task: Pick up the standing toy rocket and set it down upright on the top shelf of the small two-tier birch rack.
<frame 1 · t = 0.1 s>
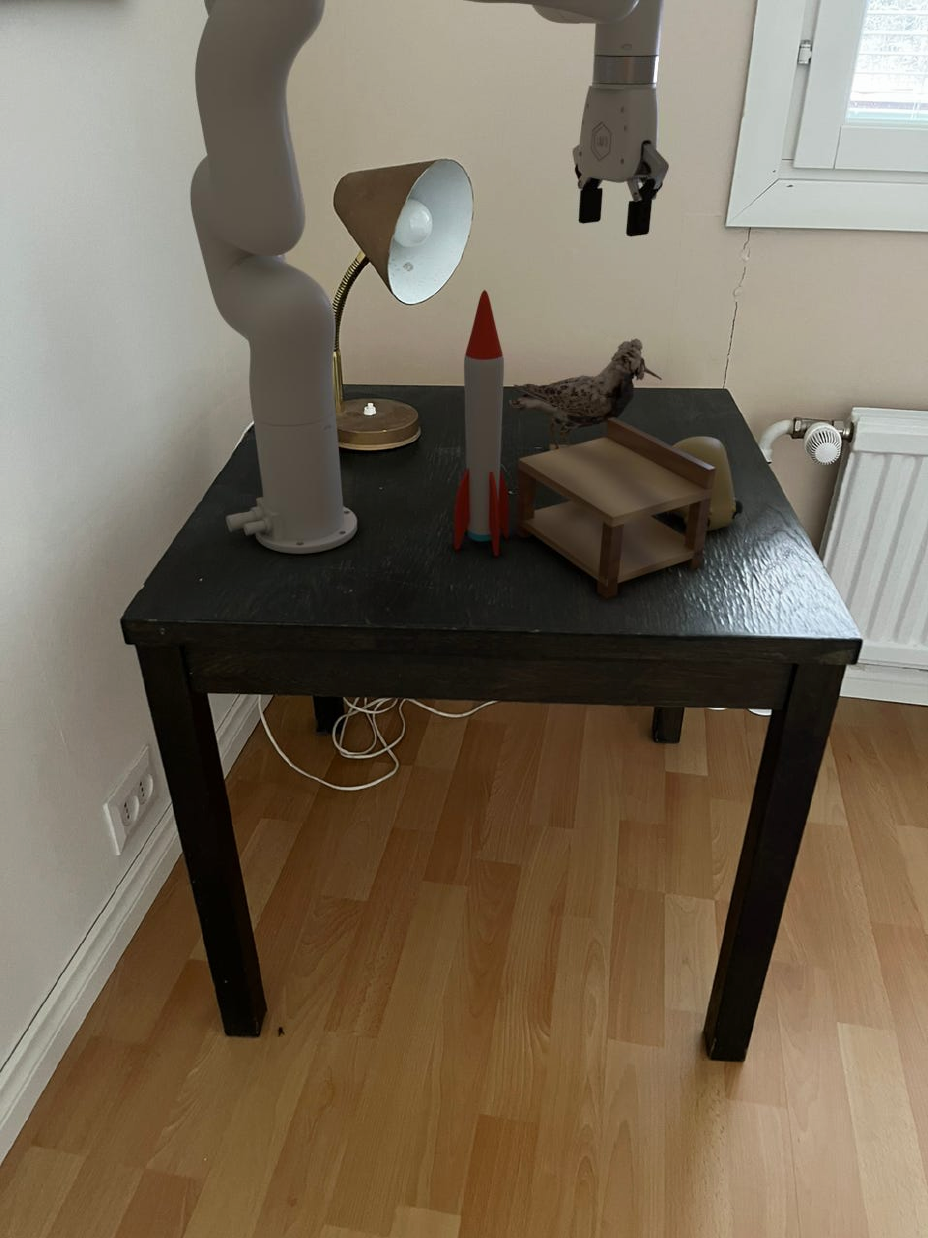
hand: (612, 228, 121), 31 cm above the table, tool pointing down, fingers open, 9 cm apart
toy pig: (694, 518, 122), on the table
toy rocket: (481, 544, 116), on the table
rack: (605, 549, 114), on the table
stuffed bird: (578, 462, 137), on the table
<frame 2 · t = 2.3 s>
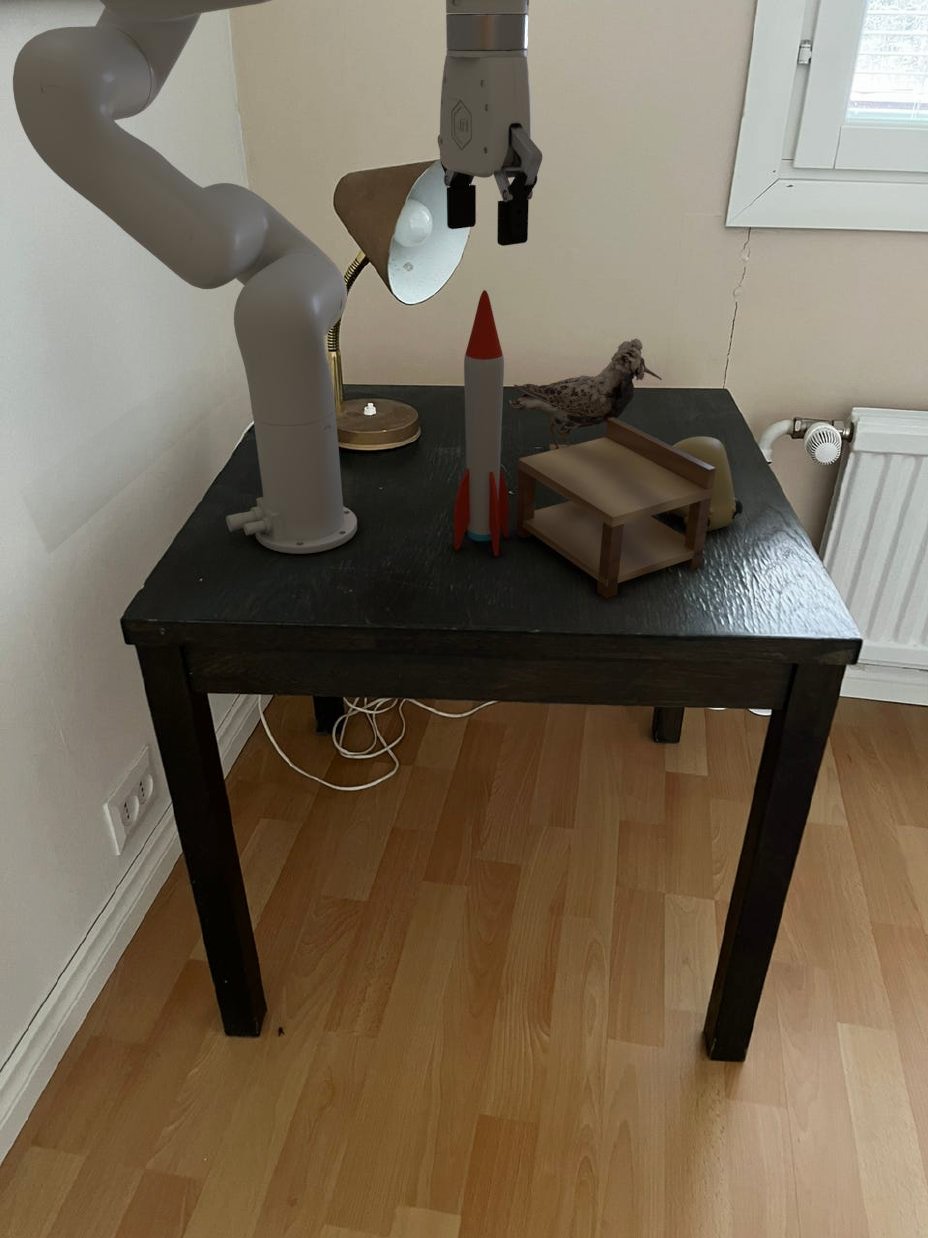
hand: (486, 235, 97), 35 cm above the table, tool pointing down, fingers open, 9 cm apart
nothing on the table moved.
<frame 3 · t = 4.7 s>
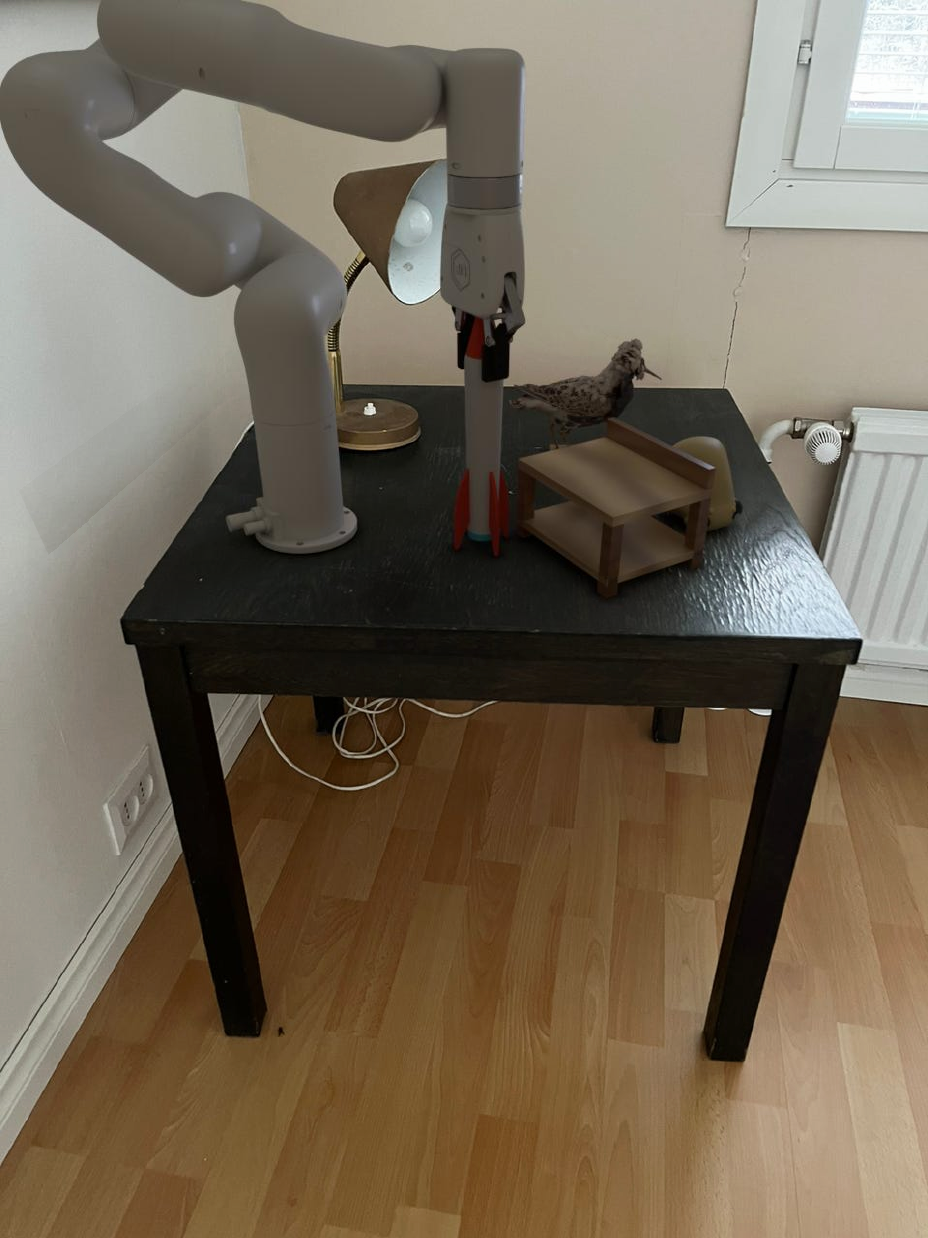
hand: (482, 371, 104), 21 cm above the table, tool pointing down, fingers closed on toy rocket, 4 cm apart
toy rocket: (481, 544, 116), on the table, touching gripper
everything else where it was.
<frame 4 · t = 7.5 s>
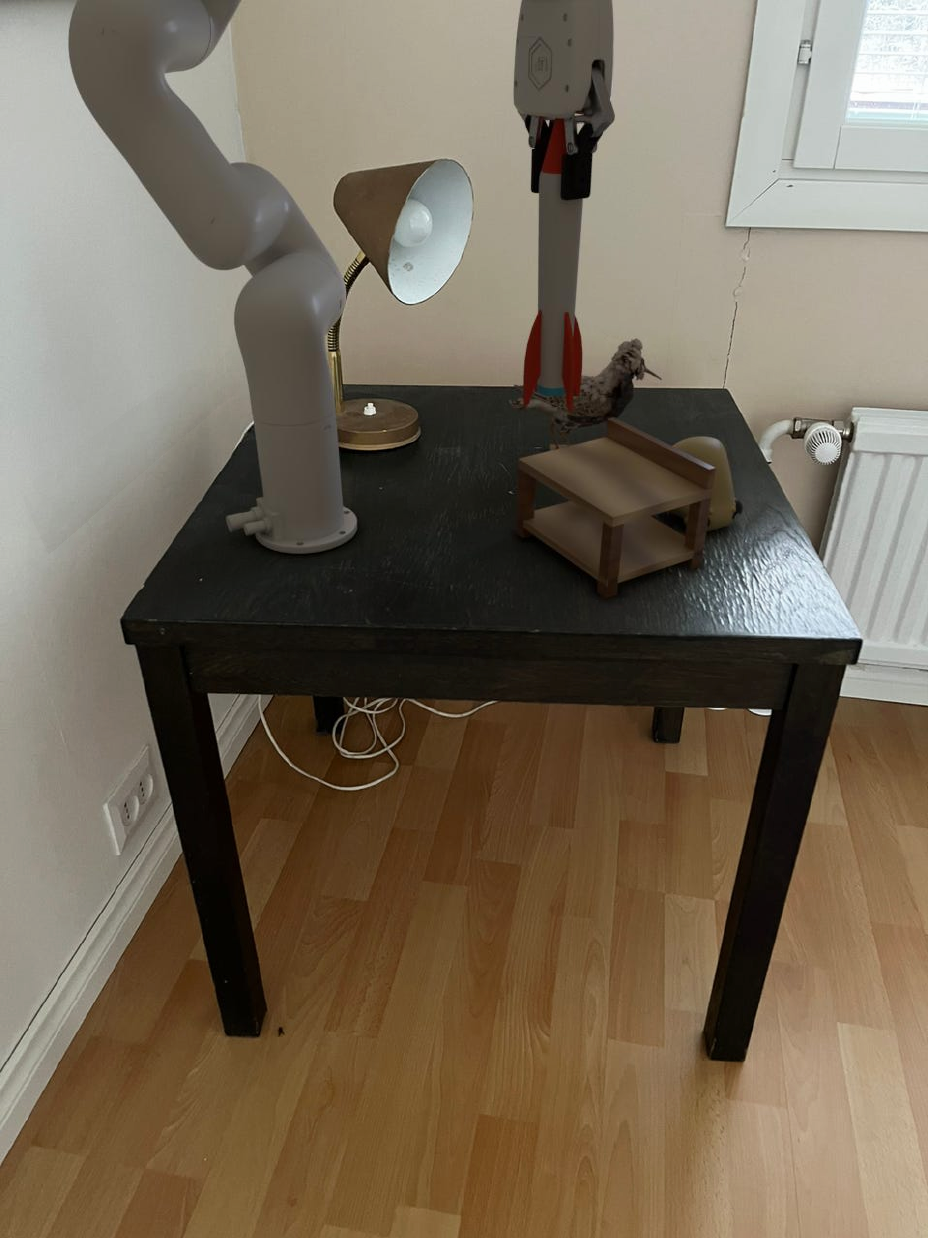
hand: (560, 192, 94), 39 cm above the table, tool pointing down, fingers closed on toy rocket, 4 cm apart
toy rocket: (551, 403, 105), point 18 cm above the table, touching gripper
everything else where it was.
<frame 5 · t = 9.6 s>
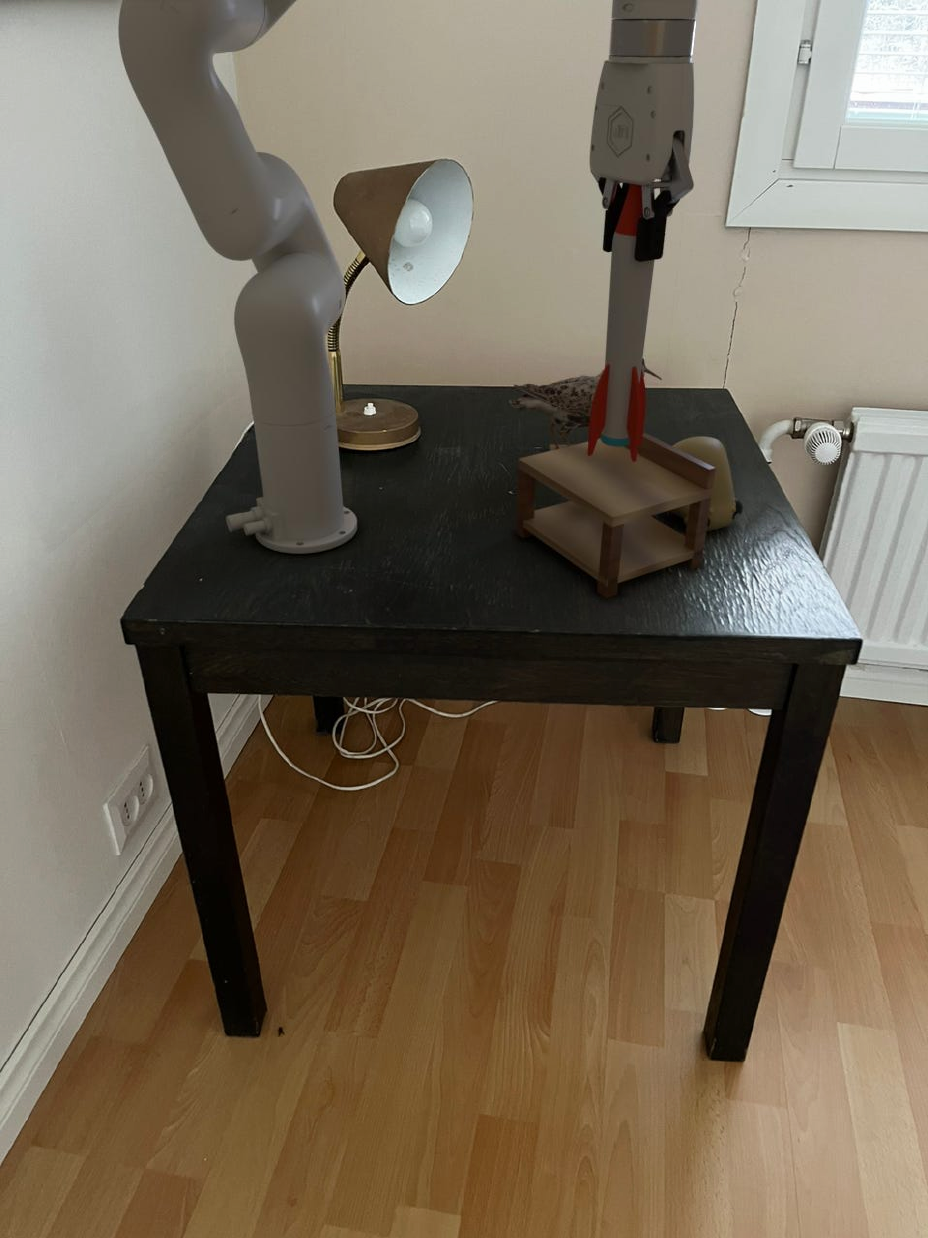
hand: (632, 252, 96), 34 cm above the table, tool pointing down, fingers closed on toy rocket, 4 cm apart
toy rocket: (614, 452, 108), point 13 cm above the table, touching gripper
everything else where it was.
when the fingers open (31 cm above the table, at t = 10.7 s): toy rocket stays where it is, resting on rack.
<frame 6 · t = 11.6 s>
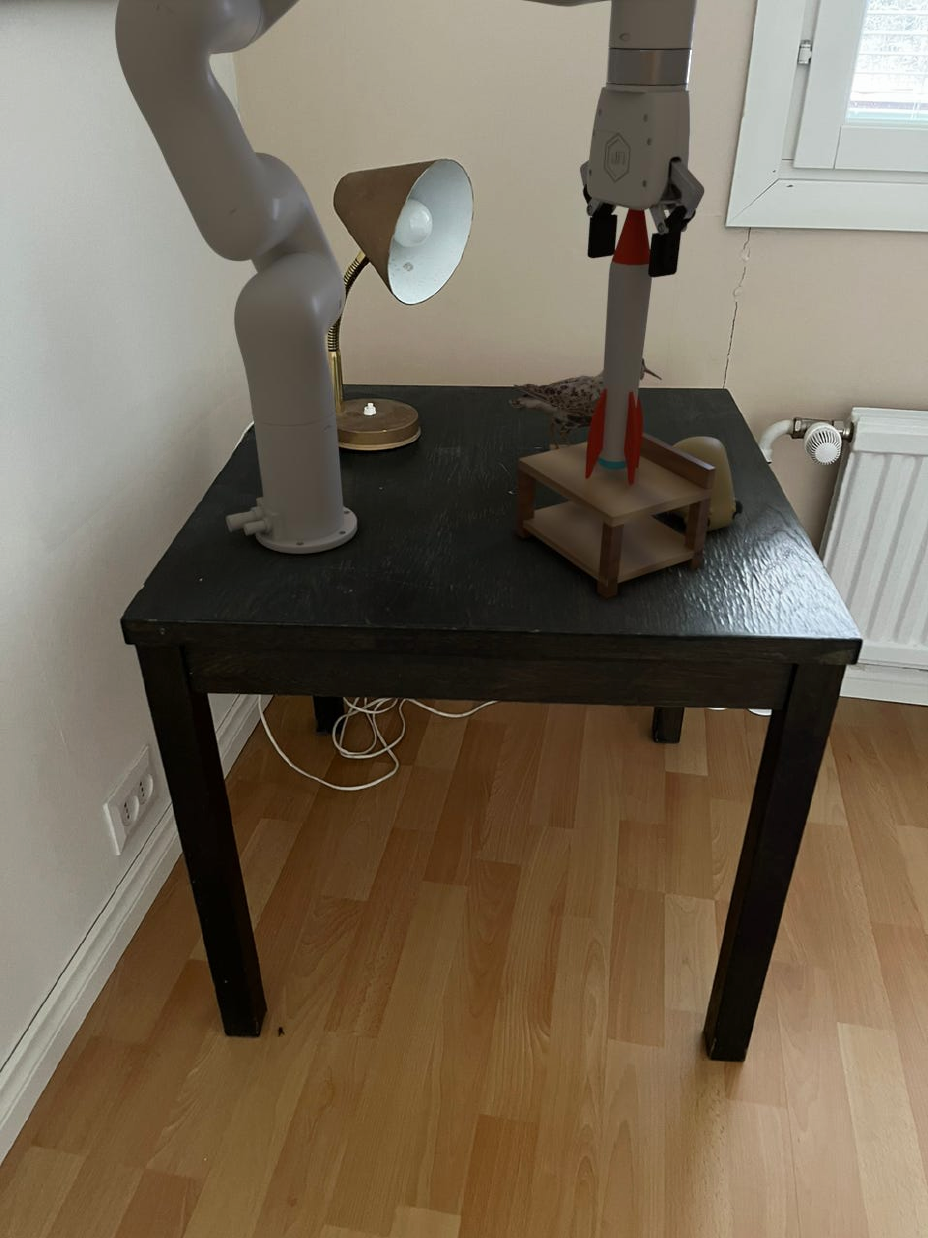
hand: (630, 265, 97), 33 cm above the table, tool pointing down, fingers open, 9 cm apart
toy rocket: (612, 474, 109), point 10 cm above the table, touching rack
everything else where it was.
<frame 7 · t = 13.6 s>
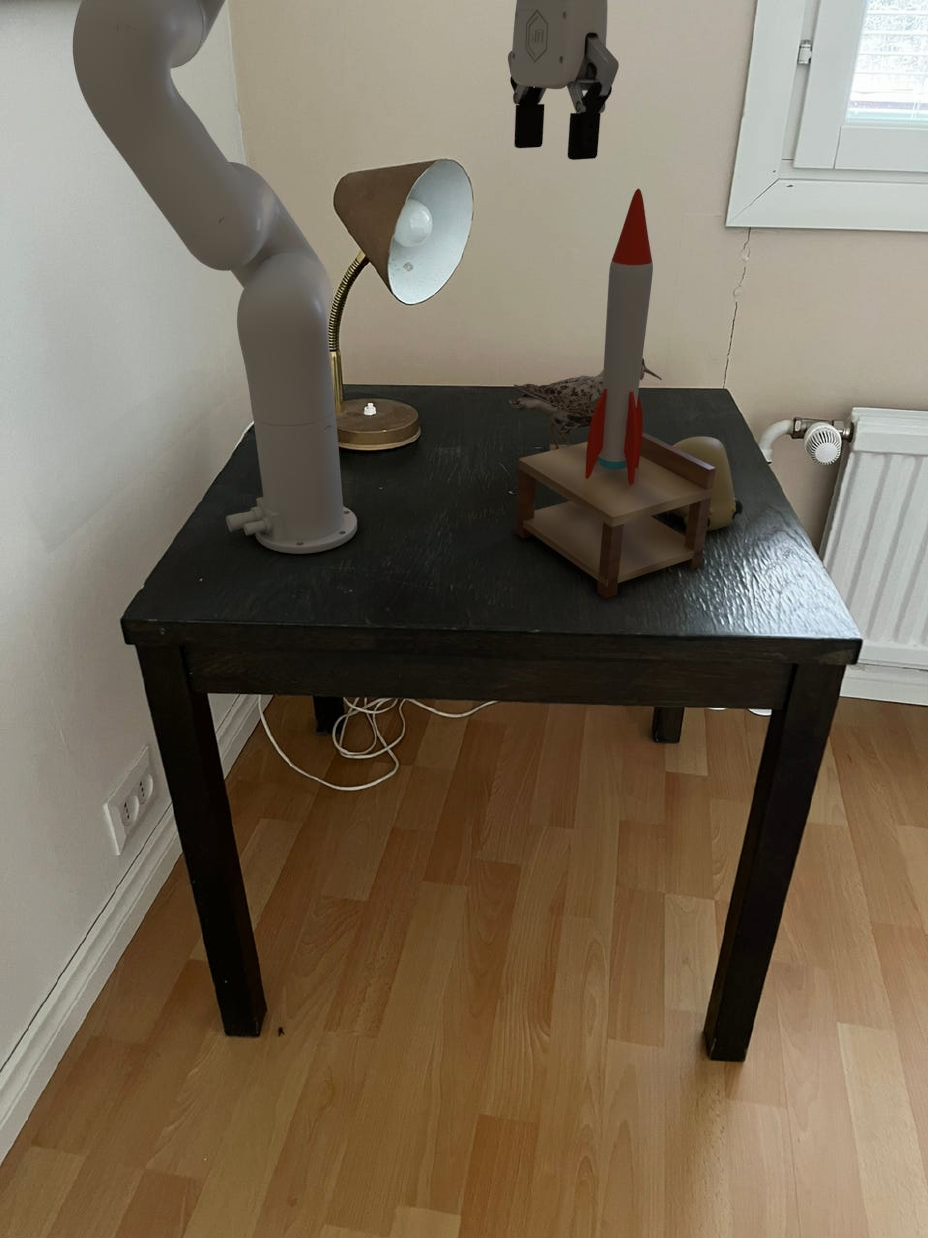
hand: (554, 152, 97), 42 cm above the table, tool pointing down, fingers open, 9 cm apart
nothing on the table moved.
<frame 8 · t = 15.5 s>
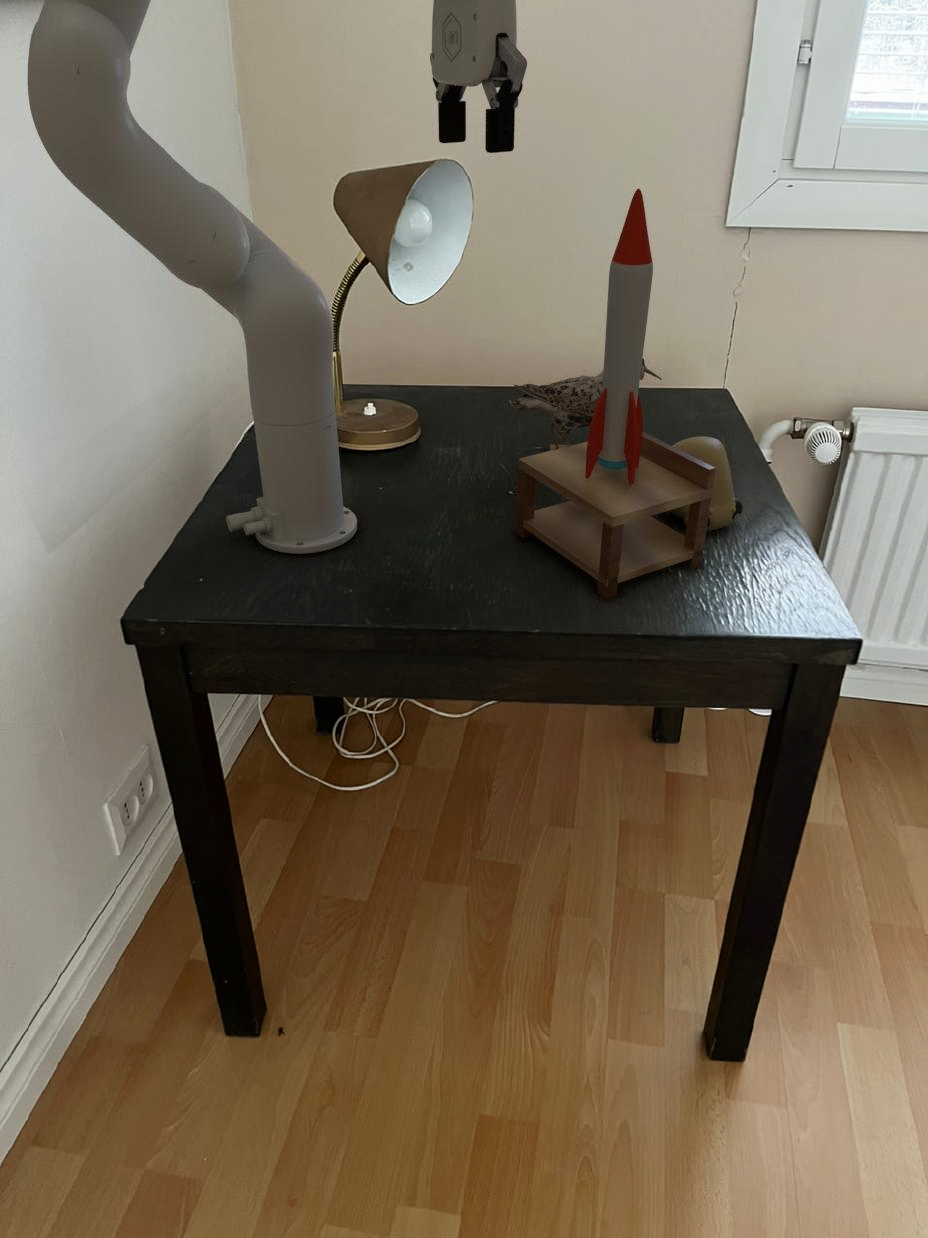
hand: (475, 146, 102), 42 cm above the table, tool pointing down, fingers open, 9 cm apart
nothing on the table moved.
at the end: toy rocket inside the target area on the rack (0.0 cm from its centre), point 9.8 cm above the rack's base; toy rocket tilted 0°; the gripper is holding nothing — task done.
